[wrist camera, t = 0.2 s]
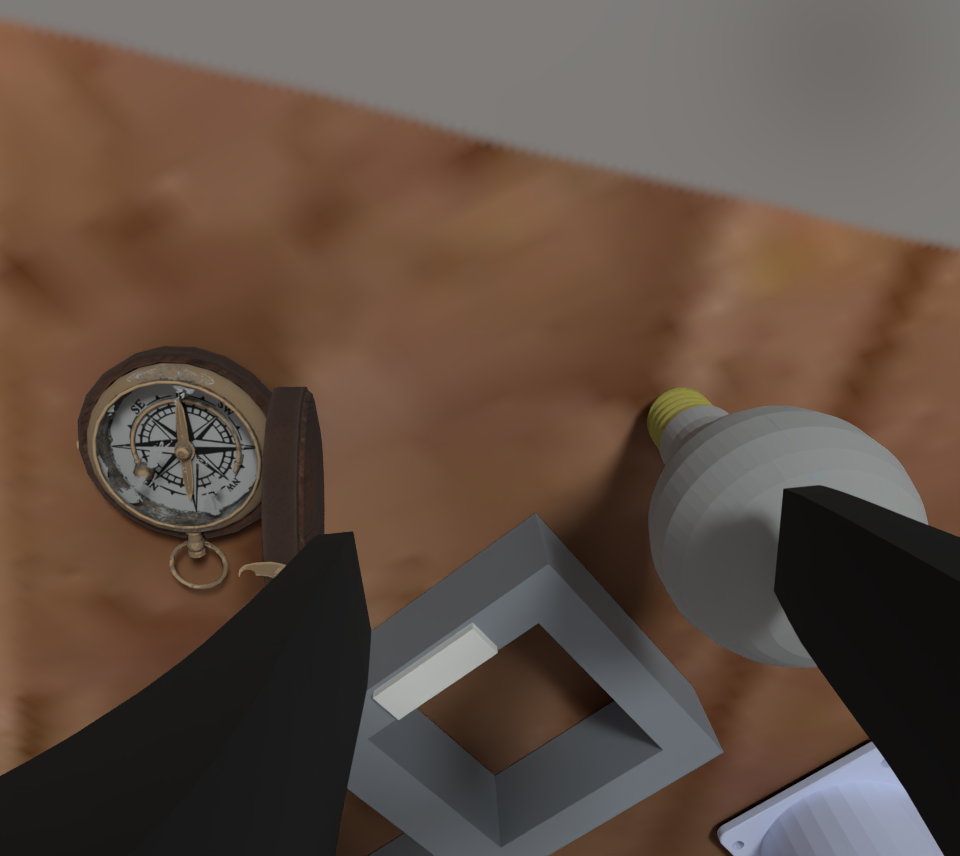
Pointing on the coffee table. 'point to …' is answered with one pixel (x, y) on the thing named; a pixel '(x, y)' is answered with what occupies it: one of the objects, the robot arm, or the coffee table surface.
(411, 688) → the socket block
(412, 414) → the coffee table surface
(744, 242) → the coffee table surface
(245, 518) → the compass
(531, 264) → the coffee table surface
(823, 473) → the light bulb
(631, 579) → the coffee table surface
